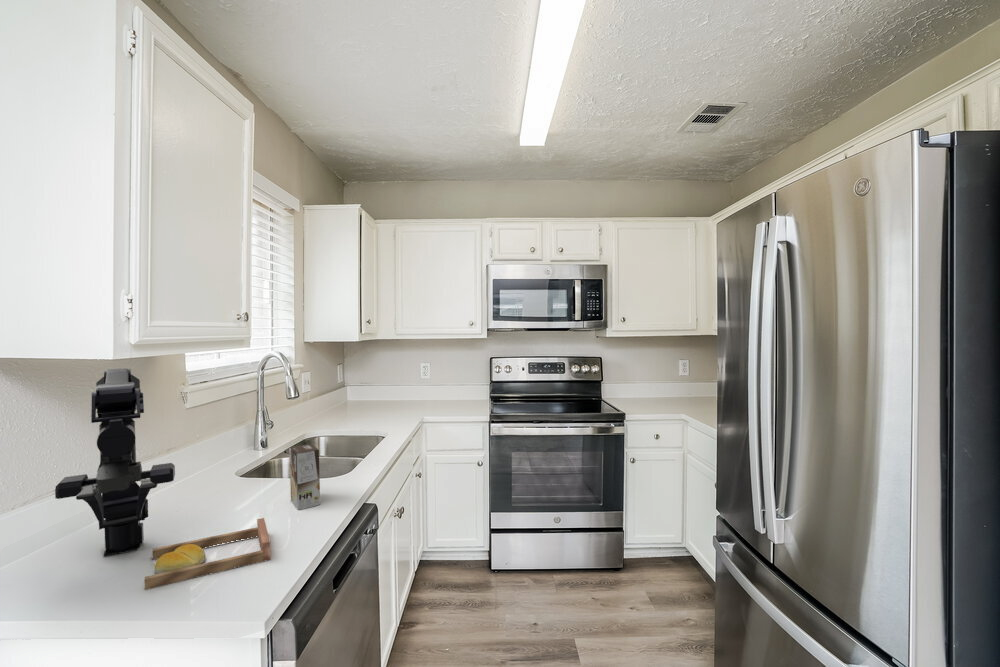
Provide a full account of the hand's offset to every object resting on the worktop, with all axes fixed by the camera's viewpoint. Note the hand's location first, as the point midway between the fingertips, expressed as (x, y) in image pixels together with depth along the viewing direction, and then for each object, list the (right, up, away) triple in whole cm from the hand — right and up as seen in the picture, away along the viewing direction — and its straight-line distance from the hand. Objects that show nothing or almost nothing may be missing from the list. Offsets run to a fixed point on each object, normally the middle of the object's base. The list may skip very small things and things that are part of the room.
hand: (120, 521), depth 99 cm
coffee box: (+21, -11, +41) cm, 47 cm away
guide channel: (+13, -12, +8) cm, 20 cm away
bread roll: (+9, -12, +5) cm, 16 cm away
